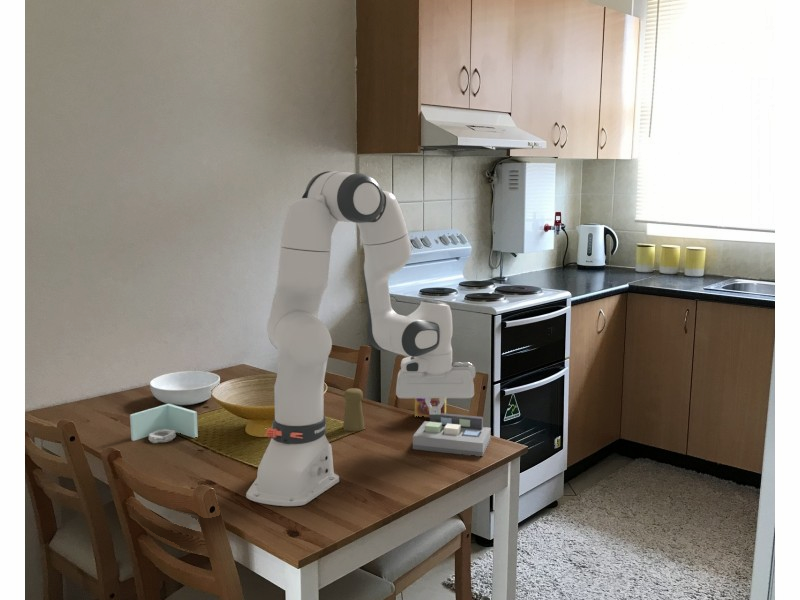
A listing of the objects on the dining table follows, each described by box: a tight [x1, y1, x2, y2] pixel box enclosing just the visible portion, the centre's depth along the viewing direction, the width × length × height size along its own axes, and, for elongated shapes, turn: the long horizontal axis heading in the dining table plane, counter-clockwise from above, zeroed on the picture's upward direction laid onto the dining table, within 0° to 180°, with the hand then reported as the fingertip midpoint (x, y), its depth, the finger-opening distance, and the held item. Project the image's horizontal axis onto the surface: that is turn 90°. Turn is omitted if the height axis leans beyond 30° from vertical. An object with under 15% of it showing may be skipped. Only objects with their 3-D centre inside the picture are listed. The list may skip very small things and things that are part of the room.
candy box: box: [414, 398, 447, 419], centre depth 211 cm, size 9×4×15 cm, turn 78°
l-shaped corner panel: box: [129, 403, 199, 444], centre depth 192 cm, size 12×12×8 cm
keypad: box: [412, 412, 492, 457], centre depth 189 cm, size 12×18×6 cm, turn 74°
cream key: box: [444, 423, 461, 435], centre depth 189 cm, size 4×4×2 cm
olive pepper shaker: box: [342, 387, 365, 432], centre depth 201 cm, size 6×6×11 cm
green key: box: [425, 421, 442, 433], centre depth 190 cm, size 4×4×2 cm
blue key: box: [463, 430, 480, 437], centre depth 188 cm, size 4×4×2 cm
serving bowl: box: [149, 370, 221, 406], centre depth 225 cm, size 21×21×7 cm
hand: (434, 413), depth 190 cm, fingers closed
